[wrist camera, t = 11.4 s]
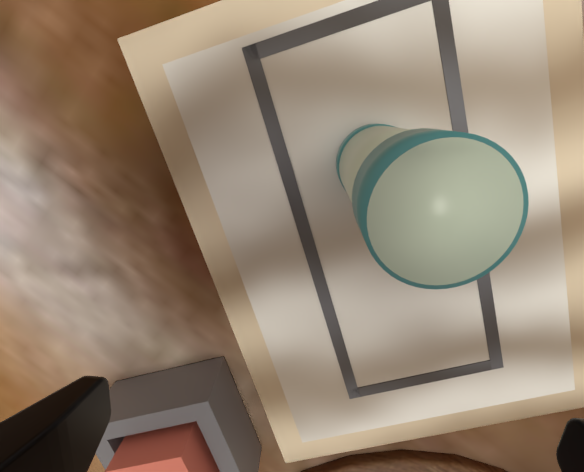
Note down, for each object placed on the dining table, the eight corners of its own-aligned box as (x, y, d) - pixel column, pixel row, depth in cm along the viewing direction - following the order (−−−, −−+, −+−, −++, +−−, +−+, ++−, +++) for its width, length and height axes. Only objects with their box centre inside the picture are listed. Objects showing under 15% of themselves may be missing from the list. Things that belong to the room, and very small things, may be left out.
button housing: (261, 447, 23) (253, 502, 20) (160, 466, 24) (137, 523, 21) (223, 356, 21) (207, 401, 18) (115, 381, 22) (81, 428, 19)
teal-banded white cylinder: (419, 188, 17) (536, 268, 8) (345, 209, 17) (381, 305, 8) (404, 112, 16) (519, 109, 7) (326, 135, 16) (344, 160, 7)
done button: (224, 462, 21) (211, 516, 18) (160, 474, 22) (138, 529, 19) (199, 408, 20) (180, 456, 17) (132, 422, 20) (104, 472, 18)
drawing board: (590, 390, 21) (607, 407, 20) (286, 448, 23) (285, 467, 22) (556, -113, 14) (579, -135, 13) (128, 43, 16) (114, 37, 15)
